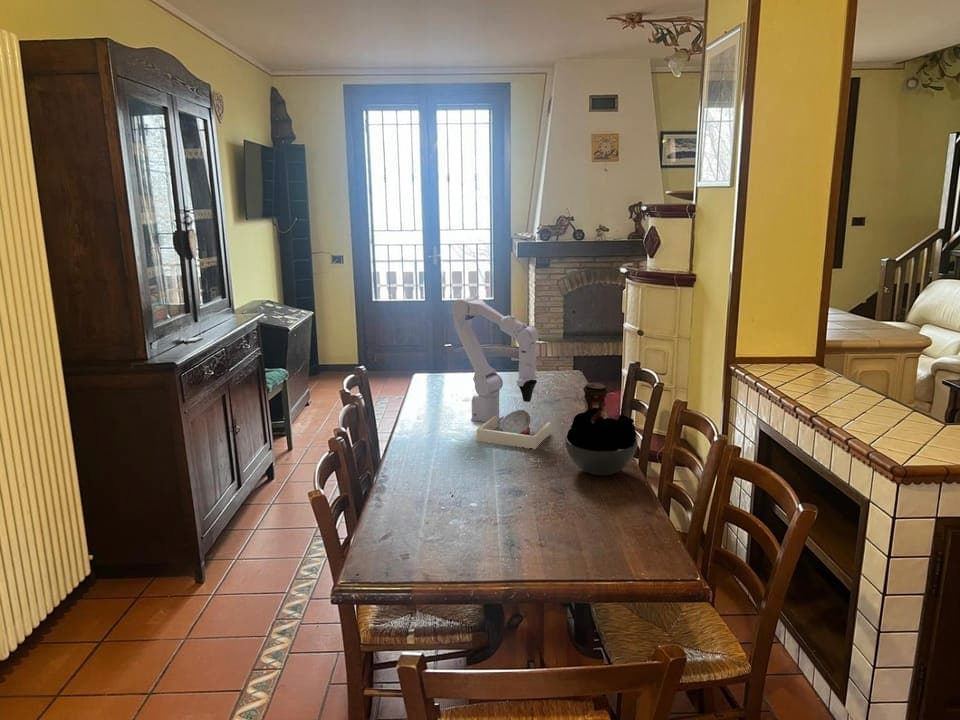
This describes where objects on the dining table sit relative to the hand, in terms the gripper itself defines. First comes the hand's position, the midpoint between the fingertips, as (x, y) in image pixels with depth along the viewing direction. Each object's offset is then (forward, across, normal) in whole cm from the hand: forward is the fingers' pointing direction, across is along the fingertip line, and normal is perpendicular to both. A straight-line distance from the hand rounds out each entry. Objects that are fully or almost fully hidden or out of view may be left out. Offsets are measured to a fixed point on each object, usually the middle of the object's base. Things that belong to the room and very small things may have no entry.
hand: (527, 401), depth 230 cm
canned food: (+9, -12, 0) cm, 15 cm away
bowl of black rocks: (+9, -30, -33) cm, 46 cm away
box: (+9, -12, 0) cm, 15 cm away
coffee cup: (+9, +14, -20) cm, 26 cm away
